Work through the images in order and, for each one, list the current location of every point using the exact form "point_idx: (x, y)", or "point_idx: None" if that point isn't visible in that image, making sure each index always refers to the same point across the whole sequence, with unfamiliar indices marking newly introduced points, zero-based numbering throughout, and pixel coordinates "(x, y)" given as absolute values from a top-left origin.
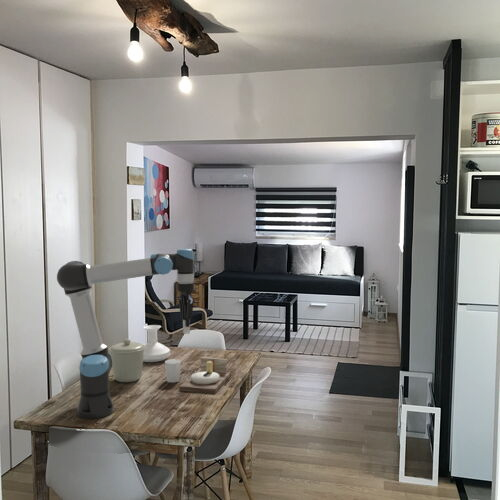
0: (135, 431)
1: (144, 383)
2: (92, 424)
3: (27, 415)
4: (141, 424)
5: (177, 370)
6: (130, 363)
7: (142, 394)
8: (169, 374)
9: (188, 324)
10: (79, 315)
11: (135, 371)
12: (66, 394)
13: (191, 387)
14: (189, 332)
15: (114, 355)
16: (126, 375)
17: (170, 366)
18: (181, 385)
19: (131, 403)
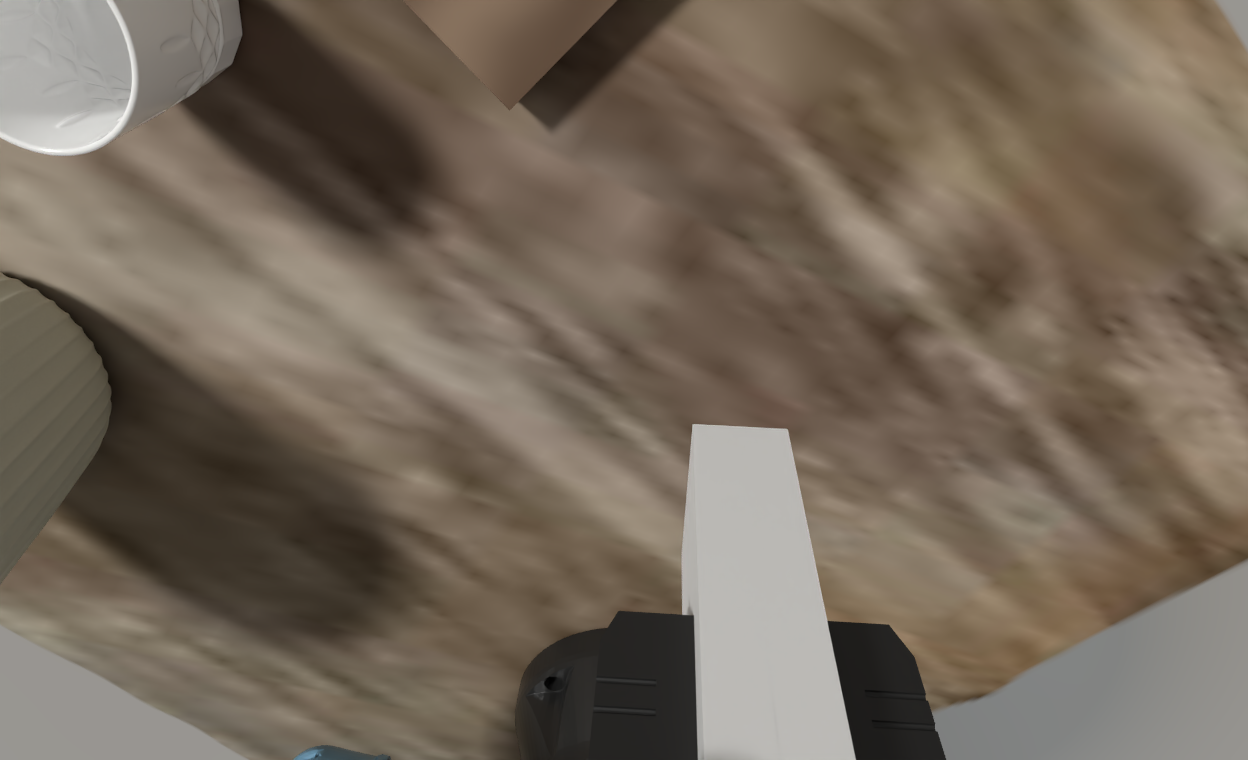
0: (1055, 645)
1: (170, 286)
2: None
3: None
4: (990, 592)
5: (176, 6)
6: (28, 492)
7: (452, 400)
8: (186, 95)
9: (919, 725)
10: None
11: (58, 390)
12: (231, 726)
13: (608, 8)
14: (789, 451)
15: None
16: (91, 447)
17: (147, 111)
18: (492, 76)
19: (600, 520)
